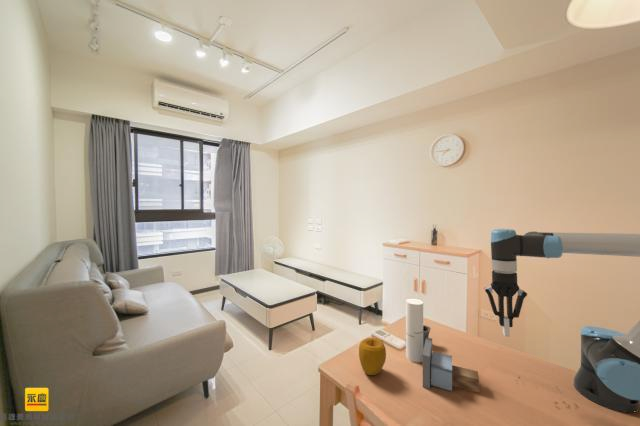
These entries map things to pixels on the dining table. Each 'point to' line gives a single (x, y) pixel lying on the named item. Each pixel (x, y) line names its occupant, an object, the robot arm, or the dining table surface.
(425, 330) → the pipe
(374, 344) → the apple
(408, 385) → the dining table surface
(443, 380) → the block
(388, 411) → the dining table surface
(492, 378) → the dining table surface
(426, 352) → the wall
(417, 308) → the cylindrical container
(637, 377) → the robot arm
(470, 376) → the wooden slab
